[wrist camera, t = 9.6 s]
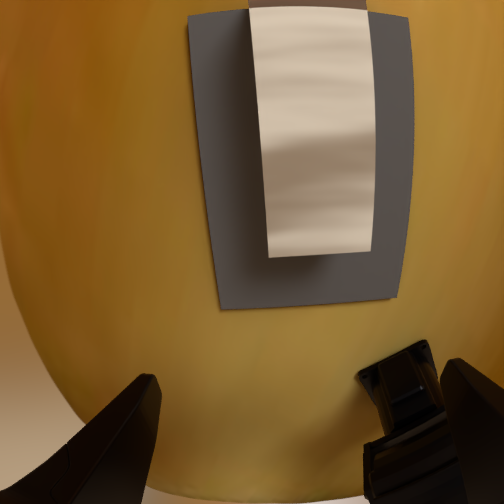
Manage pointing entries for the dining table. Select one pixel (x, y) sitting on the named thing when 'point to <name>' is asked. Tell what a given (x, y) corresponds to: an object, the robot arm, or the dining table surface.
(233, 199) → the dark gray tapered panel
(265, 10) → the tall pale block
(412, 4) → the dining table surface
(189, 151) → the dining table surface
